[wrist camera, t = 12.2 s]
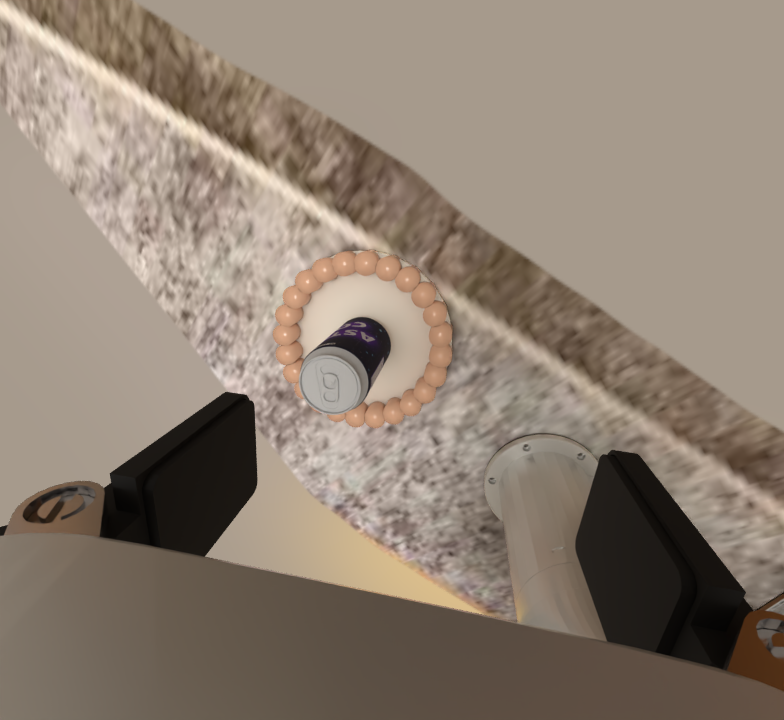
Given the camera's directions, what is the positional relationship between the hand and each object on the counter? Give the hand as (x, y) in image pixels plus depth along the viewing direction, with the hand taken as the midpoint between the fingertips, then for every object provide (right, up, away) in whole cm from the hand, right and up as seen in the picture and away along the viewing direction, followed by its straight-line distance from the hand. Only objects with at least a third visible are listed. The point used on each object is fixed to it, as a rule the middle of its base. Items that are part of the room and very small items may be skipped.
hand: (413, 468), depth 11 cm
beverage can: (-3, +5, +30) cm, 31 cm away
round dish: (-3, +5, +31) cm, 32 cm away
